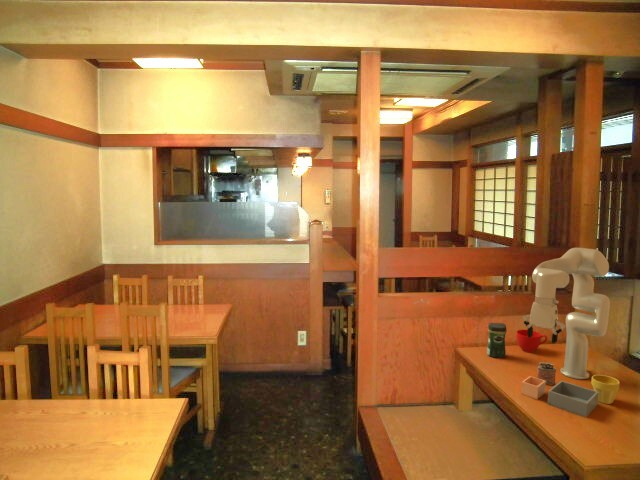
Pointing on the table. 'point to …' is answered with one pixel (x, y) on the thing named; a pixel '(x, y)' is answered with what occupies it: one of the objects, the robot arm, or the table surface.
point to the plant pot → (605, 388)
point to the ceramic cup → (529, 340)
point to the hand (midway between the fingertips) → (541, 339)
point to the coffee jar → (496, 340)
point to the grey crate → (573, 398)
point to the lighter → (546, 373)
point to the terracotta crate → (533, 387)
